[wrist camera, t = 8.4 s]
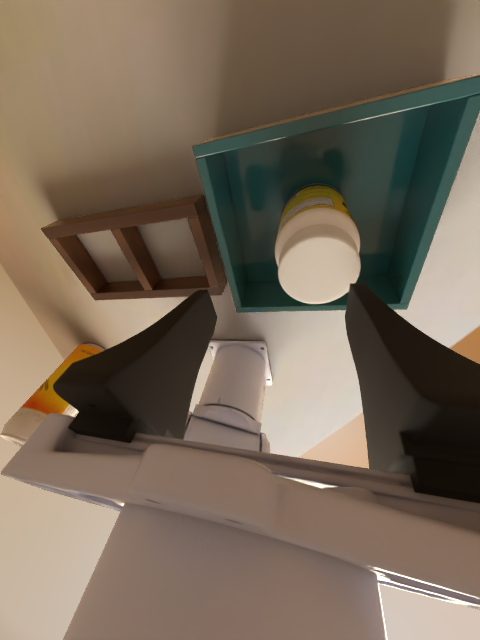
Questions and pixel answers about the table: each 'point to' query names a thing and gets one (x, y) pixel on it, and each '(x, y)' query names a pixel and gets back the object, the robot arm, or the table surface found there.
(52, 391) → the beer can
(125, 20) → the table surface
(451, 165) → the tray
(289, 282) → the supplement bottle
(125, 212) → the frame
